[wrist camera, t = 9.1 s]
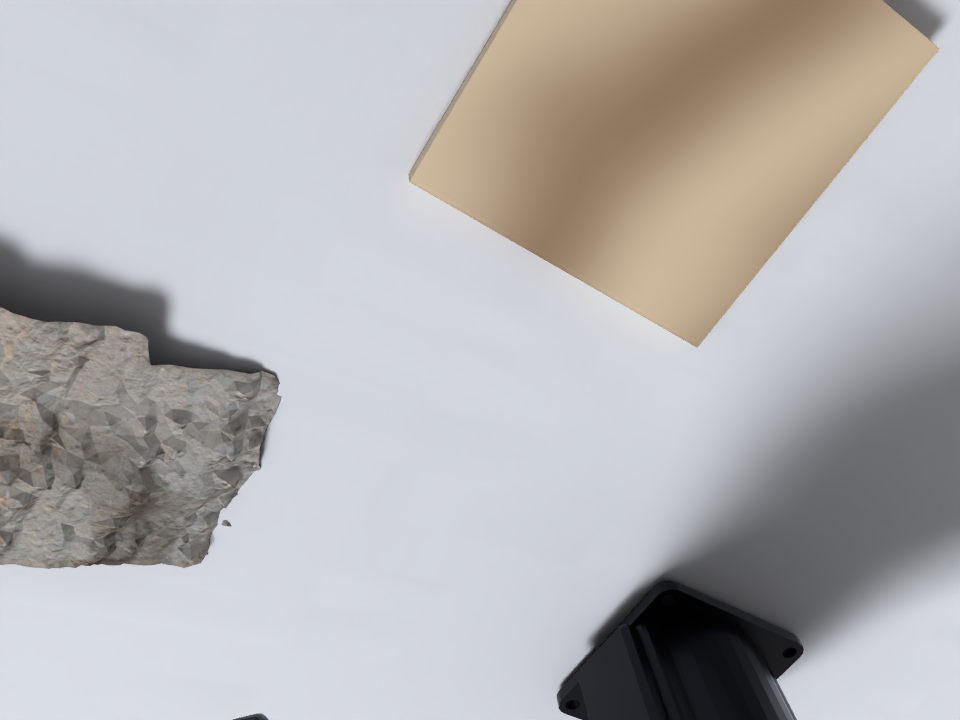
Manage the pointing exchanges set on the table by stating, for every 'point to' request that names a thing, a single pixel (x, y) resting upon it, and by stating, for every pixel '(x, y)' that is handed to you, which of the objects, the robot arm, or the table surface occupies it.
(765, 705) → the robot arm
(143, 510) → the stone fragment
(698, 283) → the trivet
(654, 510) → the table surface
